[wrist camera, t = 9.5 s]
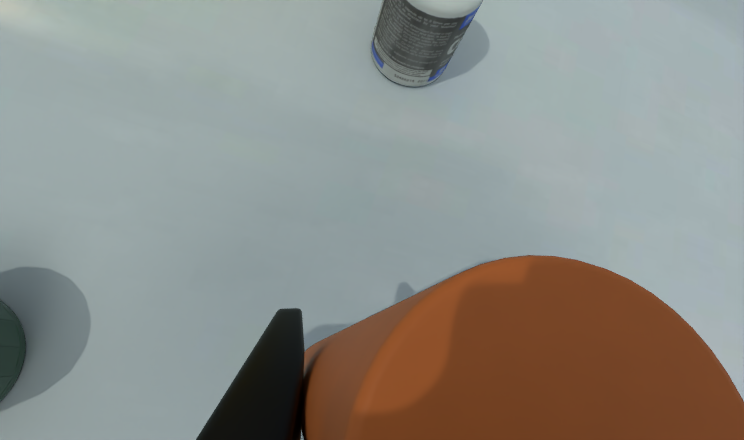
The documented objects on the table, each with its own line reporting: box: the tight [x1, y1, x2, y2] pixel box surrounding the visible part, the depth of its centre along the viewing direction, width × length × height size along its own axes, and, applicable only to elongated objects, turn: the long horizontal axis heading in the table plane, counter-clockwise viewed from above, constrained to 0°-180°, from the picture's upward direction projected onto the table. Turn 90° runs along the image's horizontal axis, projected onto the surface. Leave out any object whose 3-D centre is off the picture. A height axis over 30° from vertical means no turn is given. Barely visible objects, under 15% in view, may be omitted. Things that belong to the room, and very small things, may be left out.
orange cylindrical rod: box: [301, 255, 744, 440], centre depth 8 cm, size 3×3×12 cm
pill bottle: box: [371, 0, 483, 87], centre depth 23 cm, size 5×5×8 cm
